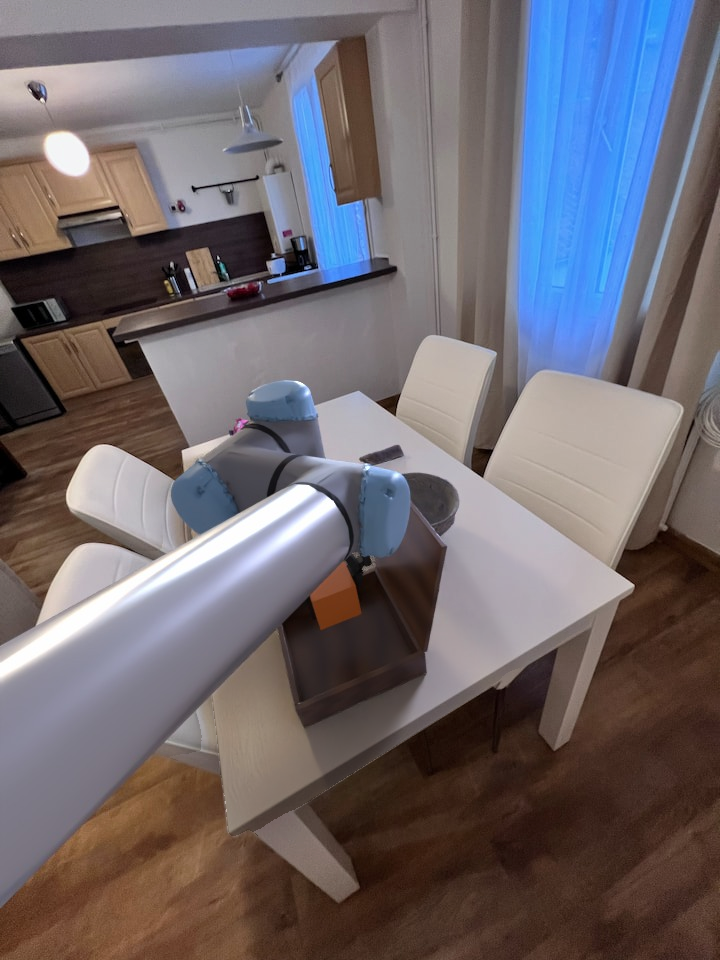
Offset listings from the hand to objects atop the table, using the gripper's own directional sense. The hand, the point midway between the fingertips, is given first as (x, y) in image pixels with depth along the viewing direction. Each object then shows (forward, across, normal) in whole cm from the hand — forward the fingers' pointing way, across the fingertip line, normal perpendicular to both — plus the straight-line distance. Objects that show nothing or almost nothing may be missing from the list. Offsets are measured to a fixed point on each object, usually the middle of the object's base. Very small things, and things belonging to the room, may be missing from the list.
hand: (334, 604), depth 67 cm
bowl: (+13, -25, -22) cm, 36 cm away
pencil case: (+12, +7, -81) cm, 82 cm away
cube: (0, 0, 0) cm, 0 cm away
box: (+13, 0, 0) cm, 13 cm away
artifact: (+12, -30, -55) cm, 64 cm away
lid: (-5, -13, 0) cm, 13 cm away
